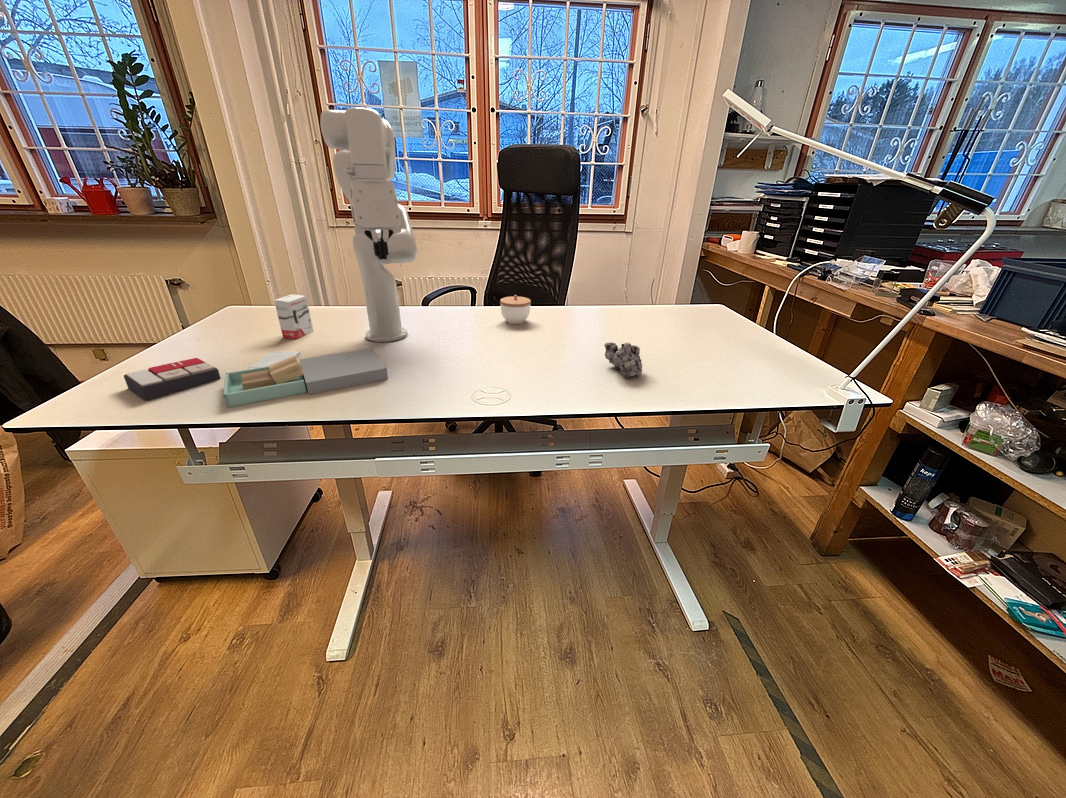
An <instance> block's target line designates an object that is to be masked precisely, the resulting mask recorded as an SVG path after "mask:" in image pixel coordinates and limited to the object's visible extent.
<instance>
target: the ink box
mask: <svg viewBox="0 0 1066 798" xmlns="http://www.w3.org/2000/svg"><path fill="white" fill-rule="evenodd" d="M274 306H275V311H276V313H277V317H278V318H277V319H278V323H279V327H280V330H281V334H282V338H283V339H290V340H291V339H292V340H297V339H301V338H302V337H304V336H306V335H308V334H310V333H312V332H314V327H313V323H312V318H311V314H310V312H311V311H310V309H309V304H308V297H307V296H306V295H302V294H301V295H300V294H294V293H291V294H288V295H285V296H282V297H279V298H277V299H275V300H274Z"/></svg>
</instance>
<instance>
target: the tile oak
mask: <svg viewBox="0 0 1066 798" xmlns="http://www.w3.org/2000/svg"><path fill="white" fill-rule="evenodd" d="M269 370H270V375H271V376H272V378H273V379H274V381H275V382H276V384H282V383H285V382H287V381H289V380H292V379H294V378H297V377H299V376H301V375H302V376H303V375H304V374H303V371H302V368H301V365H300V361H298V358H297V359H296V357H295V356H292V357H290V358H287V359H284V360H282V361H279V362H277V363H274V364H272V365H269Z"/></svg>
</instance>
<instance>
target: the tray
mask: <svg viewBox="0 0 1066 798" xmlns="http://www.w3.org/2000/svg"><path fill="white" fill-rule="evenodd" d="M247 369H248V368H247ZM247 369H243V370H237V371H230V372H225V374H224V375H225V377H224V386H223V394H222V395H223V398H224V401H225V404H226V407H227V408H232V407H239V406H244V405H250V404H254V403H259V402H264V401H270V400H274V399H279V398H285V397H289V396H294V395H295V396H296V395H300V394H306V393H308V390H307V387H306V383H305V379H304V376H303V375H301V376H299V377H297V378H294V379H292V380H289V381H287V382H285V383H282V384H276V382H275V381H274V383H275V385H272V386H266V387H260V388H255V389H249V390H244V389H243V386H242V378H241V374H247V373H253V372H259V371H264V370H269V366H266V367H260V368H254V369H248V370H247Z"/></svg>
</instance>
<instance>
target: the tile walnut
mask: <svg viewBox="0 0 1066 798" xmlns="http://www.w3.org/2000/svg"><path fill="white" fill-rule="evenodd" d="M241 378H242V386H243V389H244V390H249V389H255V388H260V387H266V386H272V385H275V383H274V379H273V378H272V376H271V375H270V370H264V371H259V372H253V373H247V374H241Z"/></svg>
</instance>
